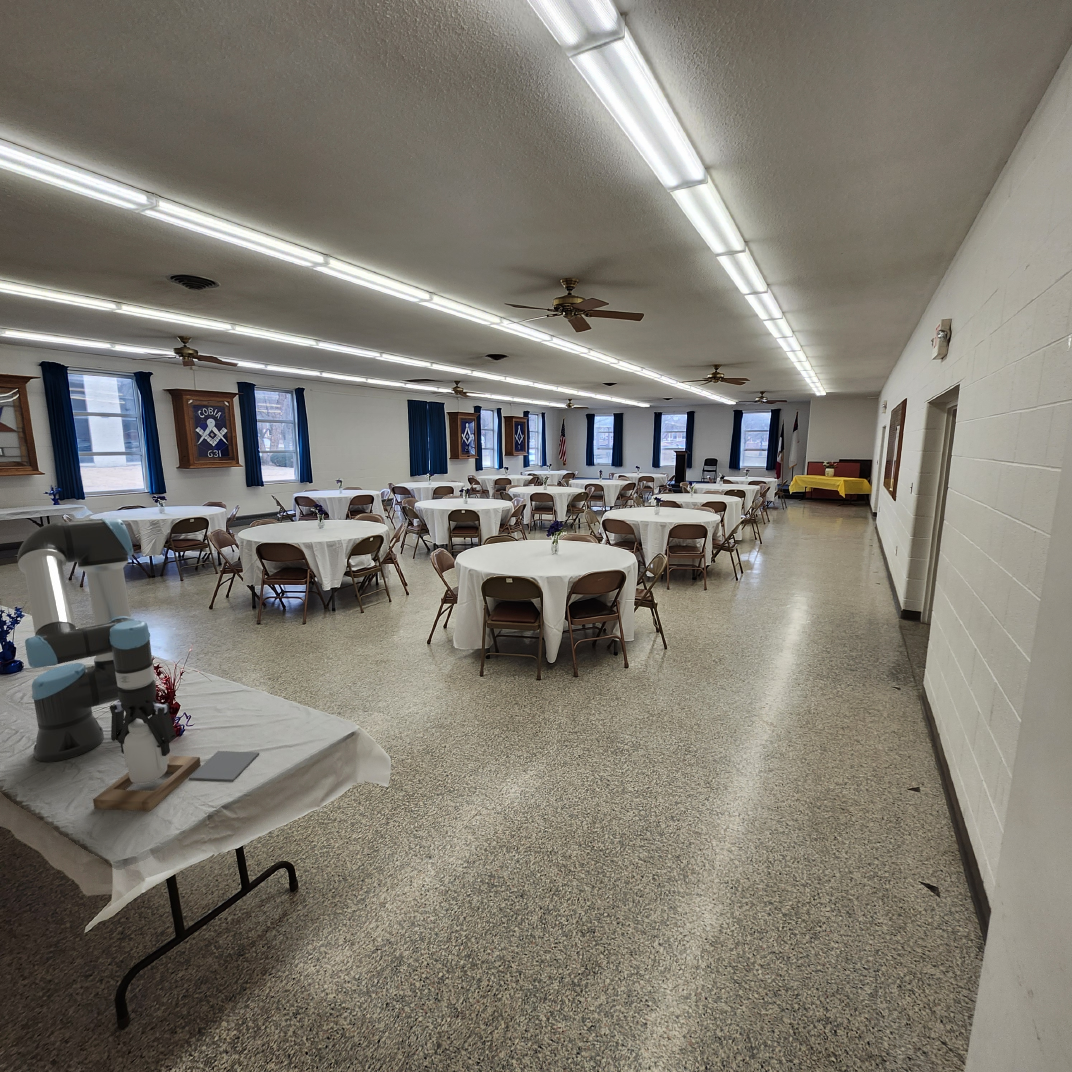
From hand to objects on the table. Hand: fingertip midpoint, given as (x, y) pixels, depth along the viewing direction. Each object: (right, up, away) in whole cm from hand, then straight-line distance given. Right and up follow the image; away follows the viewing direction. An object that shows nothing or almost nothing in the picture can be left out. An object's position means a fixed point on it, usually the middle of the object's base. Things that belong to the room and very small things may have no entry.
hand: (147, 765), depth 135 cm
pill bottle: (0, -3, +1) cm, 3 cm away
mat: (+15, -4, +9) cm, 18 cm away
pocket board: (0, -6, +1) cm, 6 cm away
